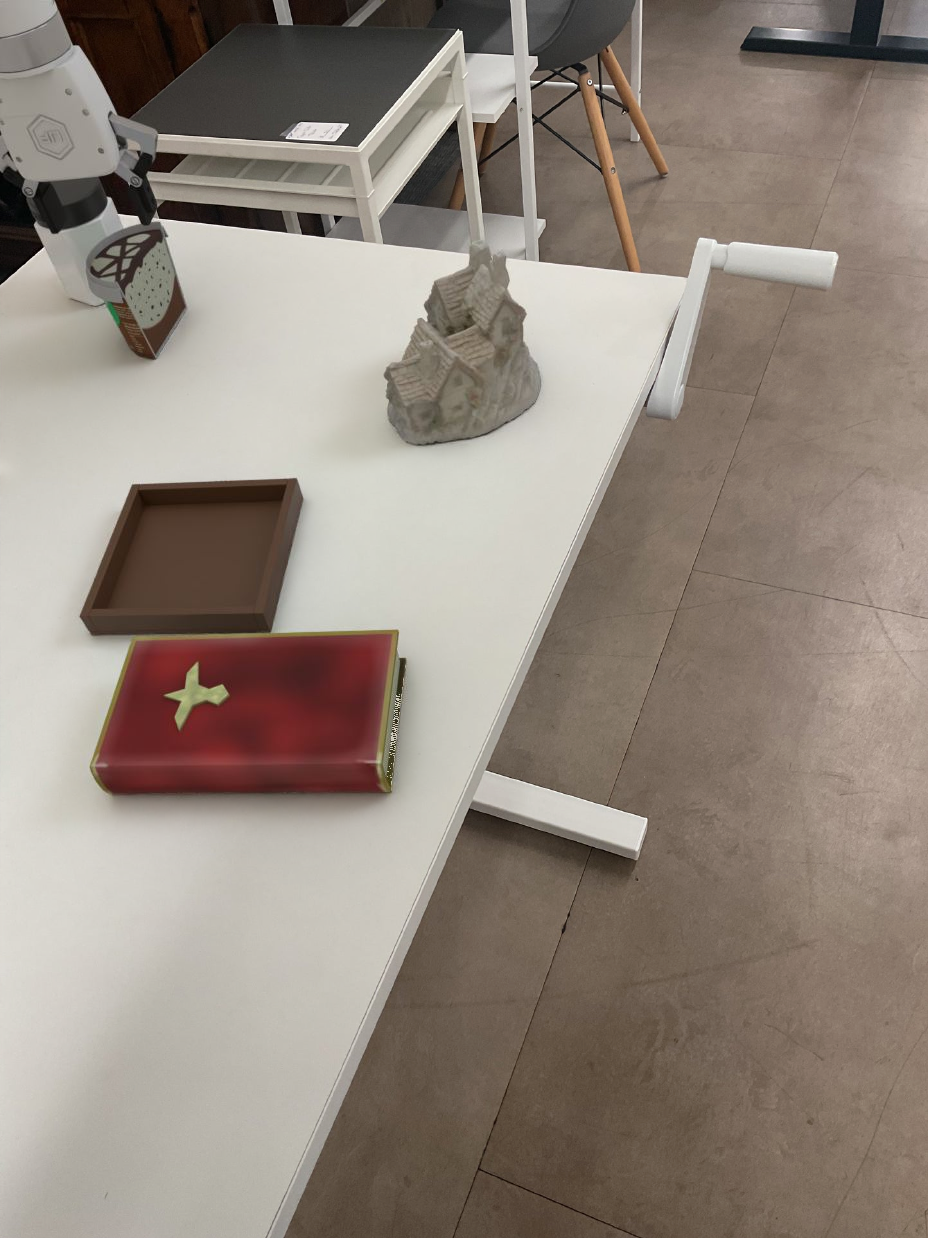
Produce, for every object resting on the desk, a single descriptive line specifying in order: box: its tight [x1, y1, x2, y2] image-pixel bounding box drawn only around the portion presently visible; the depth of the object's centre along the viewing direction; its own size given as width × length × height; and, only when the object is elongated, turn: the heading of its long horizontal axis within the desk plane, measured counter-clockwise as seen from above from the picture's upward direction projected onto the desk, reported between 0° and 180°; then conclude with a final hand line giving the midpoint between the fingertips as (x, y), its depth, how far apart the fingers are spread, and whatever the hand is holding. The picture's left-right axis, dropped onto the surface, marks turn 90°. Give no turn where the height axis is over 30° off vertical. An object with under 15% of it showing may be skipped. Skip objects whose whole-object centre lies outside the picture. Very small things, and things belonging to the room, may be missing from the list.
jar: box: [26, 176, 125, 307], centre depth 115 cm, size 9×8×12 cm
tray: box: [79, 477, 304, 636], centre depth 87 cm, size 16×16×2 cm
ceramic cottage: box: [383, 238, 542, 446], centre depth 94 cm, size 16×16×15 cm
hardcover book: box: [89, 629, 407, 795], centre depth 75 cm, size 12×21×4 cm, turn 87°
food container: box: [86, 220, 188, 360], centre depth 108 cm, size 12×6×10 cm, turn 168°
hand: (104, 222), depth 102 cm, fingers open, 9 cm apart
